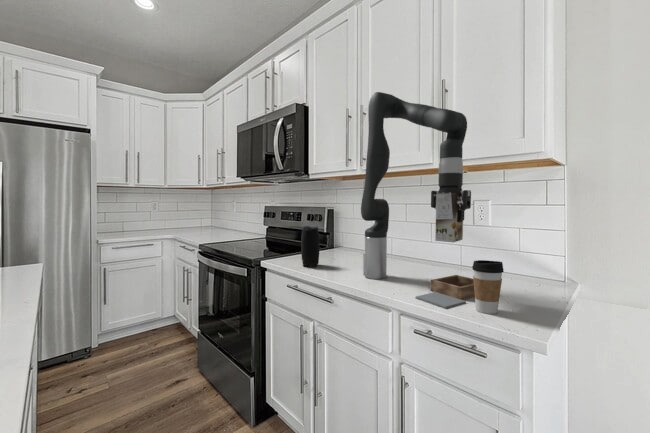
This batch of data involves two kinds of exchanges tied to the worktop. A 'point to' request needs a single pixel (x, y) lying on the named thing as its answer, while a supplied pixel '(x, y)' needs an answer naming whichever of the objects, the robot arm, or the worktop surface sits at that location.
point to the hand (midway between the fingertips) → (449, 221)
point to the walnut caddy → (454, 286)
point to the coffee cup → (487, 285)
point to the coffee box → (448, 218)
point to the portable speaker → (310, 246)
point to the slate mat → (440, 300)
